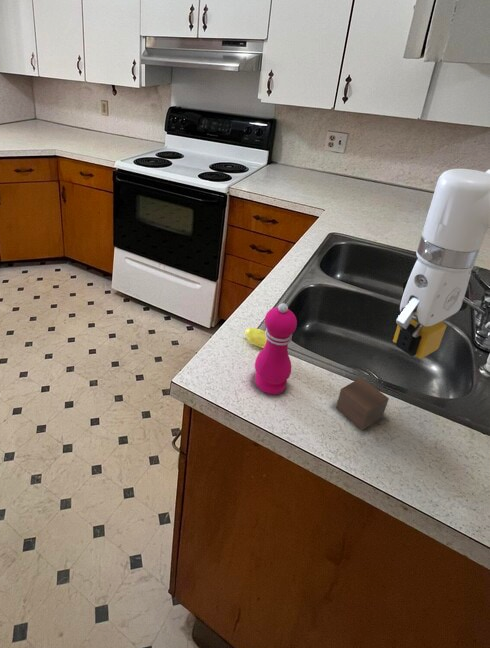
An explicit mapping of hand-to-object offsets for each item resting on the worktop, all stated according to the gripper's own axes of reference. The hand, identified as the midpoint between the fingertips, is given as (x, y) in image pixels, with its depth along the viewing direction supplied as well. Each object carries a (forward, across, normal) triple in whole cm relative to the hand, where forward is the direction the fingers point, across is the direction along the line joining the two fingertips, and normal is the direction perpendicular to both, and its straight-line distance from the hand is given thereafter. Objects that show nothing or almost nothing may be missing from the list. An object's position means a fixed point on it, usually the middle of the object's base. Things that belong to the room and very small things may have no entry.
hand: (415, 344), depth 72 cm
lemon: (+19, -7, +28) cm, 35 cm away
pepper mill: (+19, -13, +18) cm, 30 cm away
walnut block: (+19, -3, +4) cm, 20 cm away
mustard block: (0, 0, 0) cm, 0 cm away
